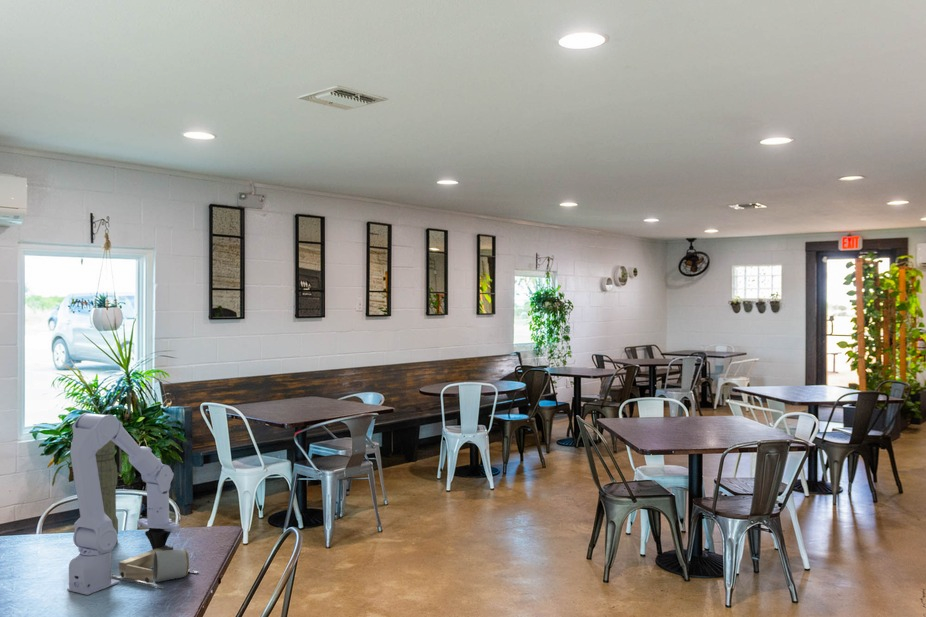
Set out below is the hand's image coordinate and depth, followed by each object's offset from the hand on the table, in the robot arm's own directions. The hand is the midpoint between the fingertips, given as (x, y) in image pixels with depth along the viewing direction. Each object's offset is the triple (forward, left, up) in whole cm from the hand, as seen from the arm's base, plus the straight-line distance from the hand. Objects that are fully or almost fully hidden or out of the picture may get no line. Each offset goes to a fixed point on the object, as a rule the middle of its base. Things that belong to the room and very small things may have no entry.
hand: (158, 555), depth 213 cm
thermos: (+4, +29, -2) cm, 29 cm away
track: (-8, -6, -2) cm, 10 cm away
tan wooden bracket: (-6, -7, -1) cm, 10 cm away
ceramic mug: (-7, -12, -2) cm, 14 cm away
